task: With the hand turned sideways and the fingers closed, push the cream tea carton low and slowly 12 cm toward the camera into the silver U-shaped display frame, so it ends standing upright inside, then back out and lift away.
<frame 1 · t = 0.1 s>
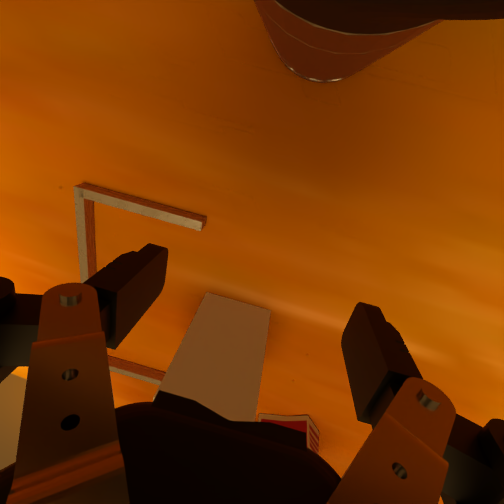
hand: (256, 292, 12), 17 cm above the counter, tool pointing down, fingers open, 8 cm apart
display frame: (141, 299, 36), on the counter
tea carton: (232, 325, 36), on the counter
milk carton: (290, 431, 44), on the counter
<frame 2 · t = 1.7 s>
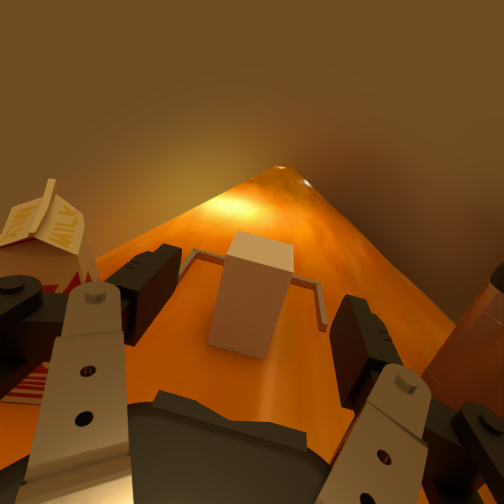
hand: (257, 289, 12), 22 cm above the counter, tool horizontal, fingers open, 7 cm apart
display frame: (251, 289, 53), on the counter
tea carton: (240, 332, 42), on the counter
milk carton: (59, 369, 31), on the counter
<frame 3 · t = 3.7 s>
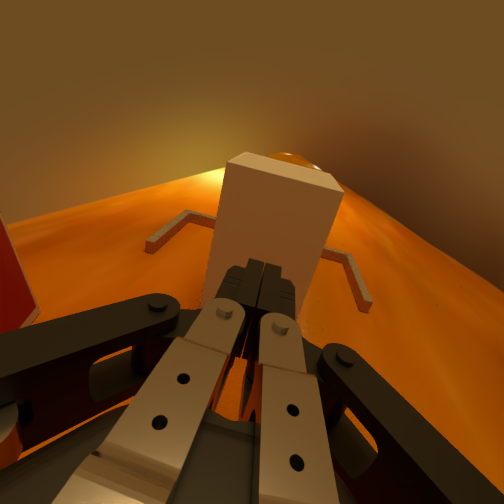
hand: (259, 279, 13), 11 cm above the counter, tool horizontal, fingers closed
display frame: (261, 258, 39), on the counter
tea carton: (247, 309, 28), on the counter
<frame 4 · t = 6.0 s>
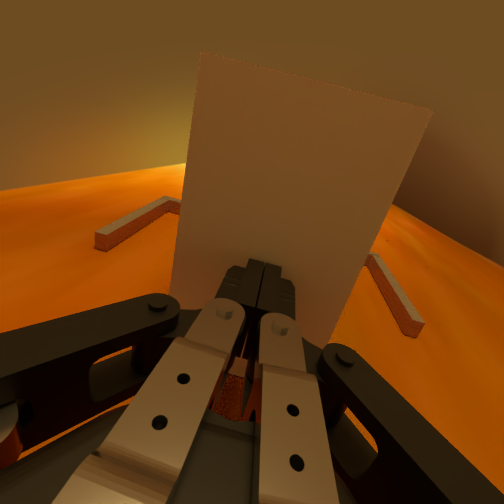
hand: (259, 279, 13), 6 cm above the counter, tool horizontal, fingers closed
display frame: (261, 258, 29), on the counter
tea carton: (243, 327, 19), on the counter, touching gripper
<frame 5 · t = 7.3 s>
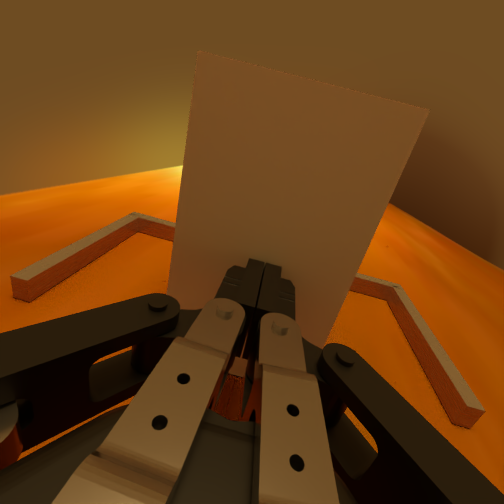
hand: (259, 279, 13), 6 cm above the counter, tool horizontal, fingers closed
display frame: (251, 299, 22), on the counter
tea carton: (241, 326, 19), on the counter, touching gripper
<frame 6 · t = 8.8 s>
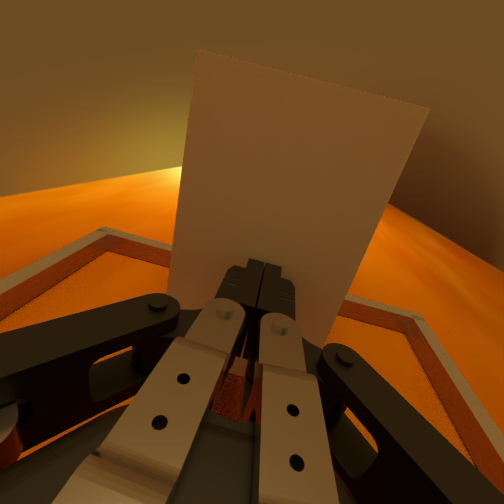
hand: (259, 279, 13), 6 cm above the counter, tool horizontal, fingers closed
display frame: (241, 341, 18), on the counter
tea carton: (241, 325, 19), on the counter, touching gripper
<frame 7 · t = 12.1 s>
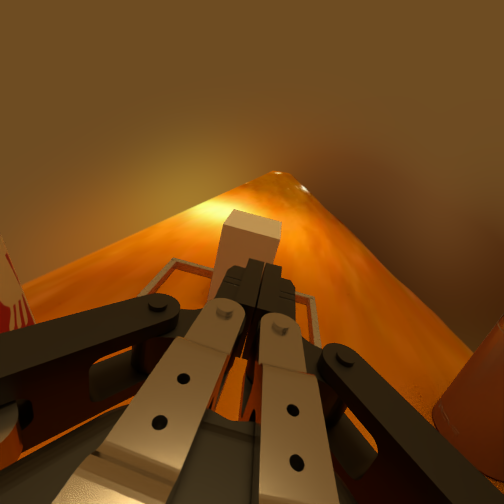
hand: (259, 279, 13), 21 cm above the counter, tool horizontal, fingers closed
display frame: (234, 304, 46), on the counter
tea carton: (235, 299, 48), on the counter
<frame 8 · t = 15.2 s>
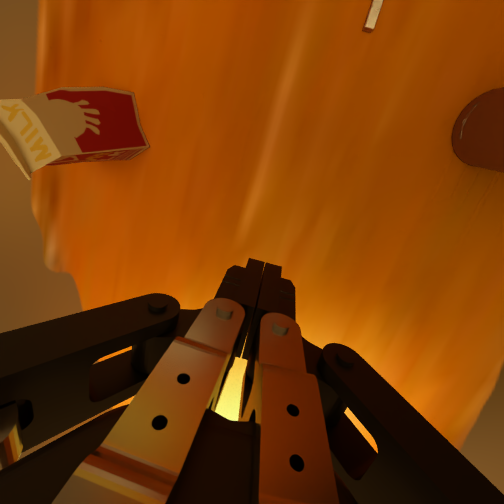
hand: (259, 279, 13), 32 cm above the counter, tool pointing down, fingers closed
milk carton: (116, 129, 43), on the counter
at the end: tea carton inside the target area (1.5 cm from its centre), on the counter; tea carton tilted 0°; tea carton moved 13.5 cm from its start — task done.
